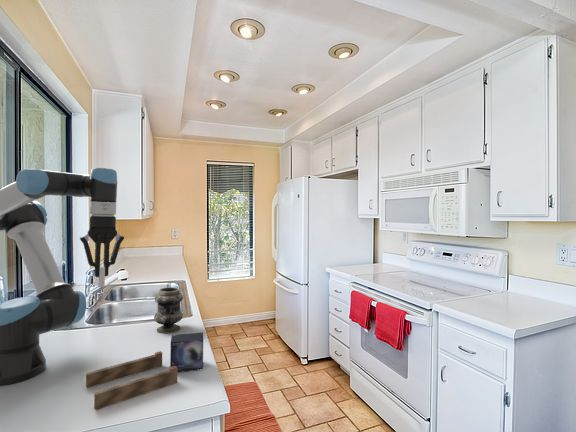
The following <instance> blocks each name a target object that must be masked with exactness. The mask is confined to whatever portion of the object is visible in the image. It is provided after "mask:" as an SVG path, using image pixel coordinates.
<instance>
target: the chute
mask: <svg viewBox="0 0 576 432" xmlns="http://www.w3.org/2000/svg"><path fill="white" fill-rule="evenodd" d="M160 367H163V352H162V351H160V350H159V351H157V352H154V354H151V355H148V356H144V357H141V358H136V359H133V360H129V361H125V362H122V363H118V364H114V365H111V366H106V367H103V368H99V369H95V370H91V371H88V372H86V373H85V387H86V389H89V388H93V387H96V386H99V385H102V384H106V383H109V382H113V381H117V380H119V379H122V378H127V377H130V376H134V375H136V374H140V373H143V372H147V371H150V370H155V369H158V368H160ZM177 383H178V372H177V367H176V366H173V367H170V366H169V368H168V369H167V370H163V371H159V372H157V373H154V374H151V375H147V376H145V377H139V378H137V379H134V380H130V381H128V382H127V381H126V382H124V383H121V384H117V385H114V386H111V387H107V388H104V389H101V390H98V391H95V392H94V393H93V394H94V395H93V396H94V397H93V400H94V403H93V405H94V406H93V407H94V410H95V411H96V410H99V409H103V408H106V407H108V406H111V405H113V404H117V403H120V402H124V401H127V400H129V399H132V398H135V397H138V396H142V395H143V394H147V393H149V392H153V391H155V390H160V389H162V388H165V387H168V386H171V385H173V384H174V385H175V384H177Z"/></svg>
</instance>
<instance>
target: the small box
mask: <svg viewBox="0 0 576 432" xmlns="http://www.w3.org/2000/svg"><path fill="white" fill-rule="evenodd" d="M169 365H170V366H169V368H170V367H173V366H176V367H177V373H182V371H184V372H190V371H189V370H193V371H200V369H203V368H204V333H203V332H194V333H193V332H192V333H181V334H180V333H178V334H172V335H171V338H170V363H169ZM198 369H199V370H198ZM203 370H204V369H203Z"/></svg>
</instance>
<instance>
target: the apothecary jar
mask: <svg viewBox="0 0 576 432" xmlns="http://www.w3.org/2000/svg"><path fill="white" fill-rule="evenodd" d="M183 299H184V294H183V293H181V292H180V288H179V287H177V286H176V287H175V286H173V287H172V286H169V287H168V286H167V287H162V288H160V289H159V290H158V294H156V295H155V297H154V302H155V303H157V309H156V310H157V312H156V313H155V314H154V316H153V320H154V321H155V322H156V323H157V324H159V325H161V326H158V327H157V329H156V332H157V333H160V334H170V333H171V332H172V333H175V331H176V332H178V331H179V330H180V329H181V327H180V325H178V324H177V323H178V322H180V321H181V320H182V319H183V316H184V313H183V312H182V311H181V302H182V301H183ZM177 330H178V331H177Z"/></svg>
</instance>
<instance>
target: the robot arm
mask: <svg viewBox="0 0 576 432" xmlns="http://www.w3.org/2000/svg"><path fill="white" fill-rule="evenodd" d="M117 173H118V172H117V171H116V170H115V169H112V168H107V167H106V168H105V167H93V168H92V169H91V170H90V174H80V173H71V172H63V171H53V170H46V169H41V168H40V169H39V168H23V169H21V170H20V171H19V172H18V173H17V175H16V179H15V181H14V182H12V183H10V184H7V185H6V186H4V187H2V188H1V189H0V231H4V232H5V233H6V235H7V237H8V238H9V239H11V240H14V241H15V244H16V246H17V248H18V250H19V253H20V255H21V257H22V259H23V262H24V265H25V266H26V267H25V268H26V270H27V273H28V274H29V277H30V279H31V282H32V284H33V286H34V288H35V291H36V294H35V296H34V295H28V296H23V297H16V298H12V299H10V300H6V301H4V302H2V303H0V386H6V385H11V384H16V383H19V382H23V381H26V380H29V379H30V378H33V377H36V376H38V375H39V374H41V373H42V372H43V371H44V370H45V369H46V368H47V361H46V360H47V359H46V356H45V355H44V353H43V351H42V348H41V346H40V335H43V334H47V333H49V332H53V331H55V330H59V329H62V328H65V327H70V326H71V325H75V324H76V323H77V324H78V323H79V322H80V321H81V320H82V319H83V318H84V316H85V315H86V314H85V313H86V310H87V298H86V296H85V293H83V292H82V291H81V290H74V288H73V286H72V284H70V283H67V282H65V280H64V278H63V276H62V273H61V272H60V269H59V267H58V265H57V262H56V260H55V258H54V256H53V254H52V251H51V248H50V247H49V245H48V243H47V240H46V238H45V235H44V234H43V231H44V230H45V228H46V227H45V226H46V225H47V223H48V222H47V221H48V218H47V216H48V214H47V213H48V212H47V210H46V208H45V207H44V206H43V204H42V203H40V202H39V201H37V200H39V199H41V198H44V197H46V196H59V197H60V196H64V197H77V198H85V197H87V198H90V200H89V201H90V202H89V203H90V204H89V205H90V206H89V214H91V215H90V216H89V229H88V230H87V233H86V234H85V235H83V236H82V235H81V236H80V237H79V240H80V242H82V244H83V245H82V246H83V249H84V252H85V255H86V256H85V257H86V260H87V264H88V265H89V266H90V267H93V268H94V277H95V278H97V287H98V288H105V286H106V285H105V281H106V277H108V276H109V267H110V266H112V265H115V264H116V261H117V258H118V254H119V250H120V246H121V244H122V242H123V241H124V239H125V237H124V236H123V235H120V234H119V233H118V231H117V227H116V225H117V217H116V216H115V215H117V198H118V195H117V194H118V191H117V190H118V175H117ZM90 239H91V240H92V241H93V242H94V259H93V255H92V252H91V248H90V243H89V241H90ZM114 239H115V243H114V246H113V248H112V252H111V255H110V247H111V245H110V243H111V242H112V241H113V240H114ZM102 244H103V265H101V253H102V252H101V249H102V248H101V246H102Z"/></svg>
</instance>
